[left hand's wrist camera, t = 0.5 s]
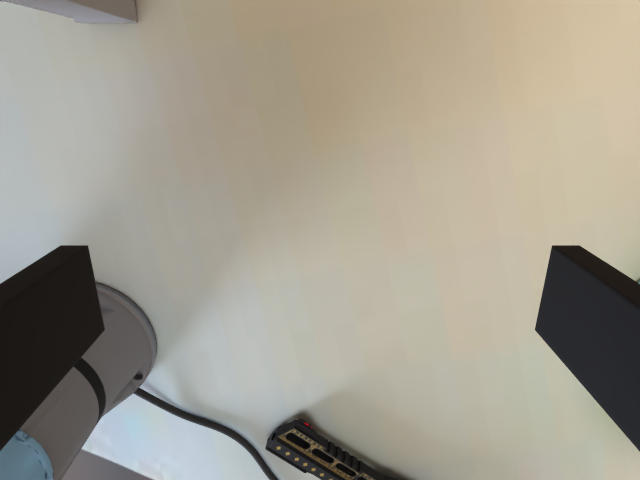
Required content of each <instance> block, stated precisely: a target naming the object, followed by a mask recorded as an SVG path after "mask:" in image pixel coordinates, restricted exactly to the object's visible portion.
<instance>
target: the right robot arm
mask: <svg viewBox="0 0 640 480" xmlns="http://www.w3.org/2000/svg"><path fill="white" fill-rule="evenodd" d="M96 288H97V293H98V298H99V303H100V308H101V313H102V317H103V322H104V327H105V330H104V332H103V333H102V334H101V335H100V336H99V337H98V339H97V340H96V341H95V342H94V343H93V344H92V345H91V347H90V348H89V349H88V350H87V351H86V352H85V354H84V355H83V356H82V357H81V358H80V359H79V361H78V362H77V363H76V364H75V365H74V366H73V367H72V369H71V370H70V371H69V372H68V373H67V374H66V376H65V377H64V378H63V379H62V380H61V381H60V383H59V384H58V385H57V386H56V387H55V388H54V390H53V391H52V392H51V393H50V394H49V395H48V396H47V398H46V399H45V400H44V401H43V402H42V403H41V405H40V406H39V407H38V408H37V409H36V410H35V412H34V413H33V414H32V415H31V416H30V417H29V419H28V420H27V421H26V422H25V423H24V424H23V425H22V427H21V428H20V429H19V430H18V431H17V432H16V434H15V435H14V436H13V437H12V438H11V439H10V441H9V442H8V443H7V444H6V445H5V446H4V447H3V449H2V450H1V451H0V480H61V479H62V478H63V476H64V475H65V473H66V471H67V470H68V468H69V467H70V465H71V464H72V462H73V461H74V459H75V457H76V456H77V454H78V453H79V451H80V450H81V448H82V447H83V445H84V443H85V442H86V440H87V439H88V437H89V436H90V434H91V433H92V431H93V429H94V428H95V426H96V425H97V423H98V422H99V420H100V418H101V417H102V416H104V415H105V414H106V413H108V412H109V411H110V410H112V409H113V408H114V407H115V406H117V405H118V404H119V403H121V402H122V401H123V400H125V399H126V398H127V397H129V396H130V395H131V394H133V393H134V394H135V395H137V396H139V397H141V398H143V399H145V400H147V401H148V402H150V403H152V404H154V405H156V406H158V407H160V408H162V409H164V410H166V411H168V412H170V413H172V414H174V415H176V416H178V417H180V418H183V419H185V420H188V421H191V422H193V423H196V424H199V425H202V426H205V427H208V428H211V429H214V430H216V431H219V432H221V433H223V434H225V435H227V436H229V437H231V438H232V439H234V440H235V441H237V442H238V443H240V444H241V445H242V446H243V447H244V448H245V449H246V450H247V451H248V452H249V453H250V454H251V455H252V456H253V458H254V459H255V460H256V462H257V463H258V464H259V466H260V467H261V469H262V470H263V472H264V473H265V474H266V476H267V477H268V478H269V479H270V480H278V479H277V478H276V477H275V475H274V474H273V473H272V472H271V470H270V469H269V467H268V466H267V465H266V463H265V462H264V460H263V459H262V457H261V456H260V454H259V453H258V452H257V451H256V449H255V448H254V447H253V446H252V445H251V444H250V443H249V442H248V441H247V440H246V439H244V438H243V437H242V436H241V435H239V434H238V433H236V432H235V431H233V430H231V429H229V428H227V427H225V426H223V425H221V424H218V423H216V422H213V421H210V420H207V419H204V418H201V417H198V416H195V415H192V414H190V413H187V412H185V411H182V410H180V409H178V408H176V407H174V406H172V405H170V404H168V403H166V402H164V401H163V400H161V399H159V398H157V397H155V396H153V395H151V394H150V393H148V392H146V391H144V390H142V389H141V388H139V387H140V386H141V385H142V383H143V382H144V381H145V379H146V378H147V376H148V374H149V372H150V371H151V369H152V367H153V365H154V362H155V358H156V350H157V347H156V338H155V334H154V331H153V329H152V326H151V324H150V322H149V321H148V319H147V317H146V316H145V315H144V313H143V312H142V311H141V310H140V309H139V307H138V306H137V305H136V304H134V303H133V302H132V301H131V300H130V299H128V298H127V297H126V296H124V295H123V294H121V293H120V292H118V291H116V290H114V289H112V288H109V287H107V286H104V285H101V284H98V283H96Z"/></svg>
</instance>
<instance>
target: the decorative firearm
mask: <svg viewBox="0 0 640 480" xmlns="http://www.w3.org/2000/svg"><path fill="white" fill-rule="evenodd" d="M266 450H268V451H269V452H271V453H273V454H274V455H276V456H278V457H279V458H281V459H282V460H284V461H286V462H287V463H289V464H291V465H292V466H294V467H295V468H297V469H299V470H300V471H302V472H304V473H307V472H308V473H311V474H313V475H315V476H316V477H318V478H320V479H321V480H395V479H393V478H389V477H385V476H383V475H382V474H380V473H379V472H377V471H376V470H374V469H372V468H371V467H369V466H368V465H366V464H365V463H363V462H362V461H359V460H357V458H356V457H354V456H351V455H349V453H348V452H346V451H343V450H342V448H340V447H338V446H335V445H334V443H332V442H329V441H328V440H327V439H325V438H324V437H322V436H321V435H319V434H318V433H317V432H316V431H315V430H314V429H313V428H312V426H311V425H310V424H307V423H306V422H305V421H304V420H302V419H299V420H294V421H292V422H290V423H288V424H286V425H284V426H282V427H278V428H277V429H276V430H275V431H274V432H273V433H272V435H271V436H270V438H268V440H267V445H266Z"/></svg>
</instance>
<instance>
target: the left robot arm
mask: <svg viewBox="0 0 640 480" xmlns="http://www.w3.org/2000/svg"><path fill="white" fill-rule="evenodd" d="M104 330H105V327H104V322H103V317H102V313H101V308H100V303H99V298H98V293H97V288H96V283H95V278H94V273H93V269H92V264H91V259H90V254H89V249H88V246H59V247H58V248H56V249H55V250H53V251H51V252H50V253H48V254H47V255H45V256H44V257H42V258H40V259H39V260H37V261H36V262H34V263H33V264H31V265H29V266H28V267H26V268H25V269H23V270H22V271H20V272H18V273H17V274H15V275H14V276H12V277H11V278H9V279H7V280H6V281H4V282H3V283H1V284H0V451H1V450H2V449H3V447H4V446H5V445H6V444H7V443H8V442H9V441H10V439H11V438H12V437H13V436H14V435H15V434H16V432H17V431H18V430H19V429H20V428H21V427H22V425H23V424H24V423H25V422H26V421H27V420H28V419H29V417H30V416H31V415H32V414H33V413H34V412H35V410H36V409H37V408H38V407H39V406H40V405H41V403H42V402H43V401H44V400H45V399H46V398H47V396H48V395H49V394H50V393H51V392H52V391H53V390H54V388H55V387H56V386H57V385H58V384H59V383H60V381H61V380H62V379H63V378H64V377H65V376H66V374H67V373H68V372H69V371H70V370H71V369H72V367H73V366H74V365H75V364H76V363H77V362H78V361H79V359H80V358H81V357H82V356H83V355H84V354H85V352H86V351H87V350H88V349H89V348H90V347H91V345H92V344H93V343H94V342H95V341H96V340H97V339H98V337H99V336H100V335H101V334H102V333H103V332H104ZM535 330H536V332H537V333H538V334H539V335H540V336H541V337H542V339H543V340H544V341H545V342H546V343H547V344H548V345H549V347H550V348H551V349H552V350H553V351H554V352H555V354H556V355H557V356H558V357H559V358H560V359H561V361H562V362H563V363H564V364H565V365H566V366H567V367H568V369H569V370H570V371H571V372H572V373H573V374H574V376H575V377H576V378H577V379H578V380H579V381H580V383H581V384H582V385H583V386H584V387H585V388H586V390H587V391H588V392H589V393H590V394H591V395H592V396H593V398H594V399H595V400H596V401H597V402H598V403H599V405H600V406H601V407H602V408H603V409H604V410H605V412H606V413H607V414H608V415H609V416H610V417H611V419H612V420H613V421H614V422H615V423H616V424H617V425H618V427H619V428H620V429H621V430H622V431H623V432H624V434H625V435H626V436H627V437H628V438H629V439H630V441H631V442H632V443H633V444H634V445H635V446H636V447H637V449H638V450H639V451H640V284H639V283H637V282H636V281H634V280H633V279H631V278H629V277H628V276H626V275H625V274H623V273H622V272H620V271H618V270H617V269H615V268H614V267H612V266H611V265H609V264H607V263H606V262H604V261H603V260H601V259H600V258H598V257H596V256H595V255H593V254H592V253H590V252H589V251H587V250H585V249H584V248H582V247H581V246H552V249H551V254H550V259H549V264H548V268H547V273H546V278H545V283H544V288H543V293H542V298H541V303H540V308H539V313H538V317H537V322H536V327H535Z"/></svg>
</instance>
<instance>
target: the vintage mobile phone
mask: <svg viewBox="0 0 640 480" xmlns="http://www.w3.org/2000/svg"><path fill="white" fill-rule="evenodd" d="M0 1H4V2H10V3H14V4H18V5H22V6H26V7H30V8H34V9H38V10H42V11H46V12H50V13H54V14H58V15H62V16H66V17H70V18H74V20H75V22H78V23H137V14H136V7H135V0H0Z"/></svg>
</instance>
